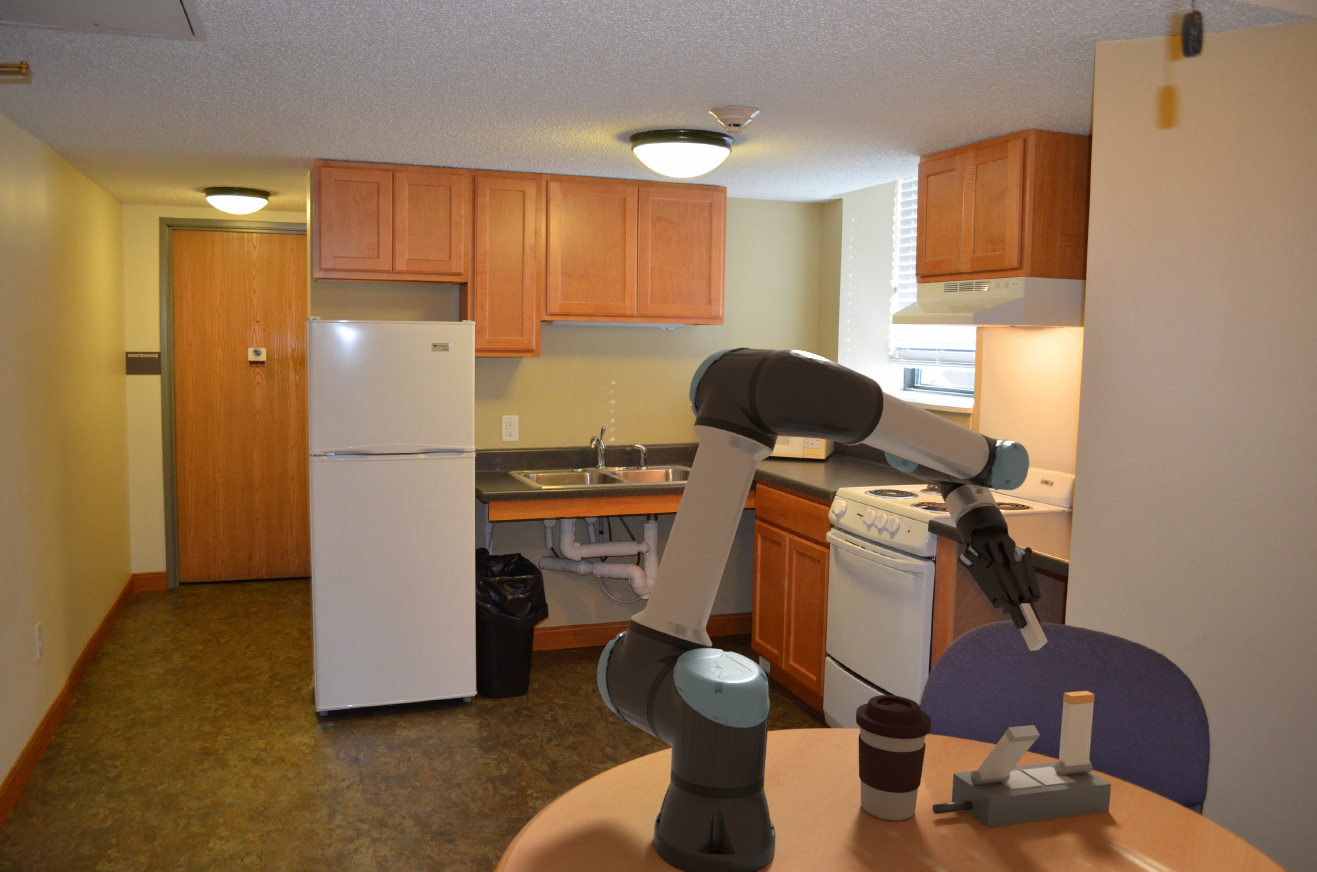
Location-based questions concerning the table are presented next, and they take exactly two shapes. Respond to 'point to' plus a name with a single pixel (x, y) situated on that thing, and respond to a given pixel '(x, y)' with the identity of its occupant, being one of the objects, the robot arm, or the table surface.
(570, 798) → the table surface
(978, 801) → the power strip
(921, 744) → the coffee cup
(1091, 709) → the orange-capped paddle
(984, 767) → the grey-capped paddle
